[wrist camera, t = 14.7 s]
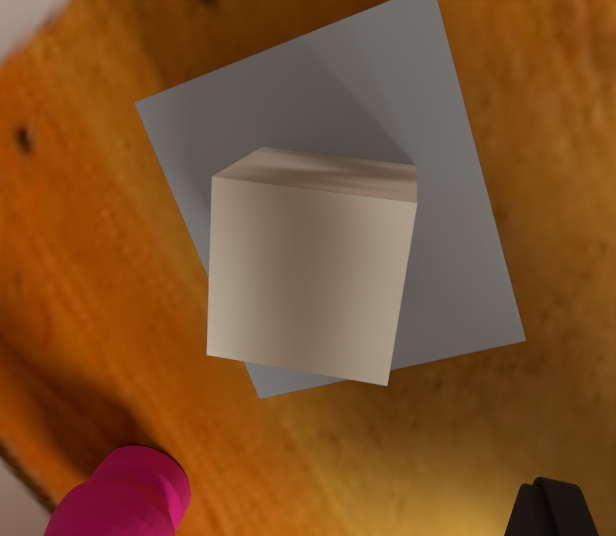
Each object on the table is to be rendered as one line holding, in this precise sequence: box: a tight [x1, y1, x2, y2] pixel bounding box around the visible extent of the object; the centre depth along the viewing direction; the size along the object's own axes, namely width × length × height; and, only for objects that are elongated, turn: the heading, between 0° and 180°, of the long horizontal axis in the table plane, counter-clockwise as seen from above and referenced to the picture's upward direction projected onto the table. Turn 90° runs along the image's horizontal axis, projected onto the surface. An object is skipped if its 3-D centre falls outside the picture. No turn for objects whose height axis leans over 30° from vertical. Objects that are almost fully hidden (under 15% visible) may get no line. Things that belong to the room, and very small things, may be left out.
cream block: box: [207, 147, 417, 386], centre depth 20 cm, size 6×6×6 cm
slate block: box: [134, 0, 526, 399], centre depth 26 cm, size 12×14×6 cm
